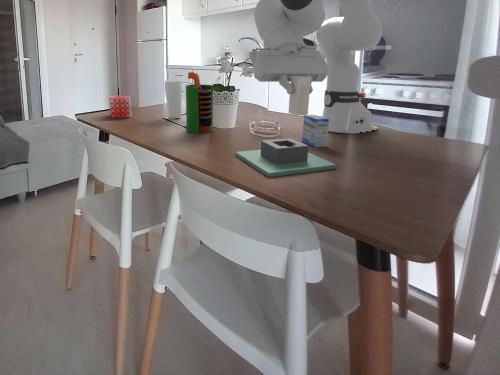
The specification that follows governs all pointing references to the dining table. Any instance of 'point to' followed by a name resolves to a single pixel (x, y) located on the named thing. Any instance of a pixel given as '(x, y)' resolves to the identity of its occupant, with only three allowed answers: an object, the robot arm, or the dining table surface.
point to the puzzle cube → (120, 106)
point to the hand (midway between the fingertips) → (300, 92)
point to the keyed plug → (300, 95)
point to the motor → (199, 106)
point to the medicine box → (315, 130)
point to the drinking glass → (173, 97)
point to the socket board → (284, 158)
